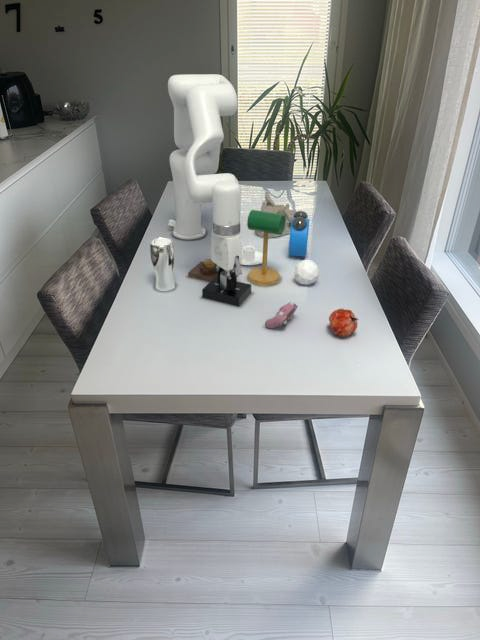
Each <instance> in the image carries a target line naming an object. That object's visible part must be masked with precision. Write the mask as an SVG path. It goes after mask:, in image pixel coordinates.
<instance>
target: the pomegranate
mask: <svg viewBox="0 0 480 640" xmlns="http://www.w3.org/2000/svg"><path fill="white" fill-rule="evenodd" d="M359 320H360V319H359V318H357V317H356V315H355V313H354V312H353V311H352V310H351V309H344V308H339V309H335V310H333V311H332V312H331V313H330V314H329V317H328V321H329V328H330V329H331V330H332V332H333V333H334V335H336V336H338V337H343V338H344V337H348V336H350V335H351V334H353V333H355V331H356V330H357V328H358V321H359Z"/></svg>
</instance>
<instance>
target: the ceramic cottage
mask: <svg viewBox="0 0 480 640" xmlns="http://www.w3.org/2000/svg"><path fill="white" fill-rule="evenodd" d="M264 192H265V193H264V200H263V201H262V204H261V207H260V211H264V212H270V213H276V214H282V215H285V218H286V222H285V228H284V231H283V233H282V235H276V234H271V233H268V239H269V238H270V239H271V238H278V237H283V236H284V235H285V236H286V235H287V234H290V230H291V222H292V218H295V217H294V214H295V213H296V212H297V210H296V209H290V203H288V202H287V203H286V204H285V205H284V204H283V203H282V204H275V202H274V200H273V199H272V197H271V196H270V193H269V190H265V191H264ZM255 235H257V236H258V237H260V238H264V232H260V231H255Z"/></svg>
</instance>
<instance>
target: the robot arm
mask: <svg viewBox="0 0 480 640" xmlns="http://www.w3.org/2000/svg"><path fill="white" fill-rule="evenodd" d="M167 92H168V95H169V98H170V100H171V103H172V106H173V138H174V139H173V140H174V144H175V146H176V147H177V148H179V149H176V150H175V149H174V150H173V151H172V152H171V153H170V155H169V166H170V172H171V176H172V177H171V178H172V182H173V183H172V184H173V194H174V209H175V219H169V220H168V227H169V228H170V227H171V228H173V230H172V235H173V236H174V237H175V238H177V239H179V240H184V241H185V240H186V241H191V240H198V239H201V238H203V237H205V235H206V232H207V231H206V229H205V228H204V227H203V226H202V206H201V205H202V204H210V203H212V230H211V237H210V259H211V260H212V261H213V262H214V263H215V264H216V270H217V271H218V272H217V281H218V284H220V272H222V271H224V270H226V271H227V275H228V278H226V285H227V290H228V291H230V290H233V289H236V287H237V278H238V277H239V276H240V275H242V274H243V270H242V251H243V247H242V239H241V204H242V203H241V198H242V195H241V194H242V190H241V189H242V188H241V185H240V184H239V180H238V178H237V177H236V176H235V175H234V174H232V173H229V172H227V173H226V172H225V173H217V172H218V169H219V165H220V156H221V155H220V154H221V144H222V143H223V141H224V139H225V135H224V130H223V126H222V119H221V117H231V116H233V115H235V114H236V112H237V111H238V105H239V104H238V95H237V92H236V90H235V87H234V85H233V83H231V82H230V81H229V79H227V78H226V77H225V76H223V75H222V74H215V73H213V74H211V73H209V74H207V73H205V74H200V73H199V74H196V73H195V74H194V73H193V74H190V73H189V74H187V73H185V74H173V75H170V77H169V78H168V81H167ZM231 270H232V271H233V273H231Z"/></svg>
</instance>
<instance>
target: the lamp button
mask: <svg viewBox="0 0 480 640" xmlns="http://www.w3.org/2000/svg"><path fill="white" fill-rule="evenodd" d="M203 262H204V267H207V268H213V267H215V263H214V262H213V261H212V260H211V258H206V259H204V260H203Z"/></svg>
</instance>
